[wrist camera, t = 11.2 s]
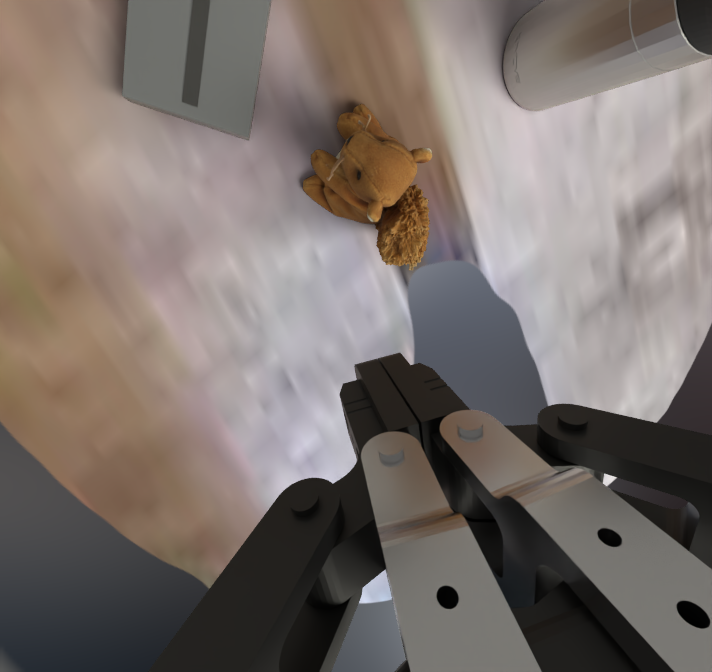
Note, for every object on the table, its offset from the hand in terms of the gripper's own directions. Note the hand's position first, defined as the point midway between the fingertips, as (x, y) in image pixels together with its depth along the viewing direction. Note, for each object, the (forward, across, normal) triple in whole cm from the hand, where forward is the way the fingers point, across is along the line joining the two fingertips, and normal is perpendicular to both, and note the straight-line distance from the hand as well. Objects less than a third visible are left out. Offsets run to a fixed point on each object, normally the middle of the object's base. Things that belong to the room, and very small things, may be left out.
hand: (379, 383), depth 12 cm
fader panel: (+30, +3, -22) cm, 38 cm away
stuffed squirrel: (+31, -8, -4) cm, 32 cm away
